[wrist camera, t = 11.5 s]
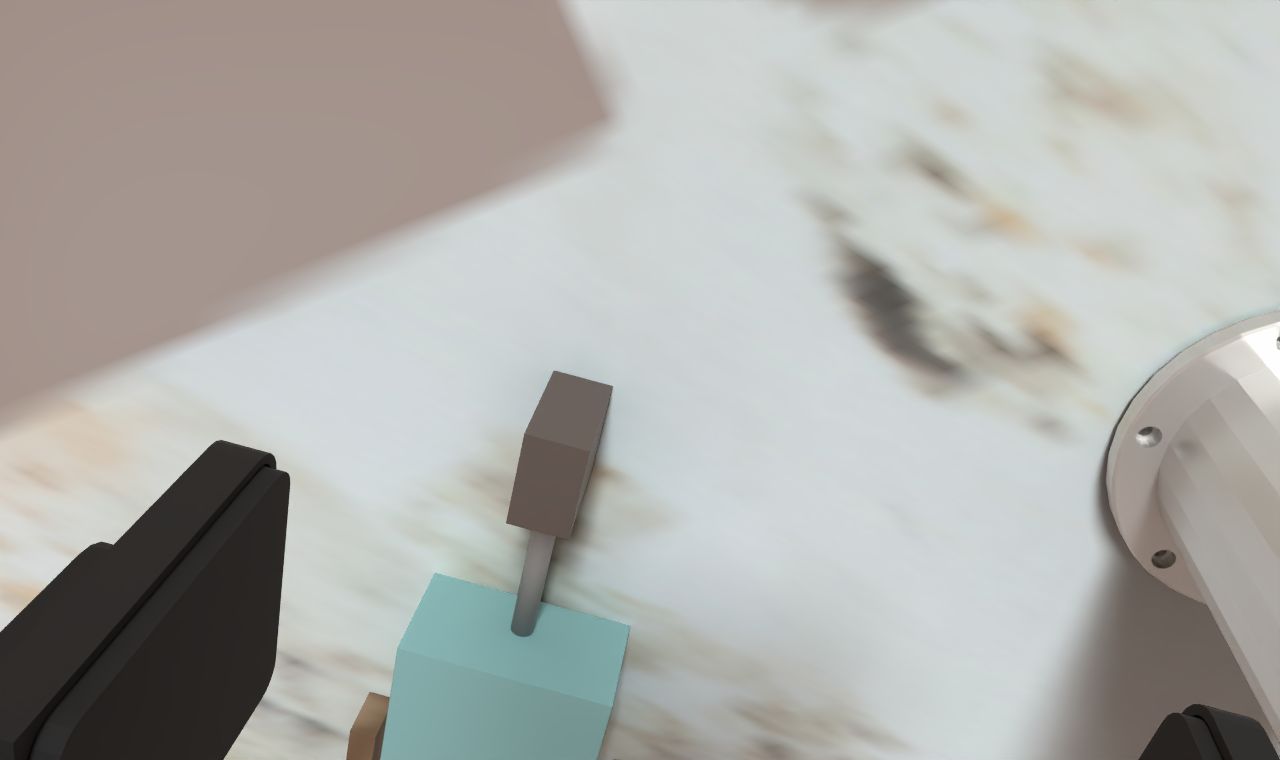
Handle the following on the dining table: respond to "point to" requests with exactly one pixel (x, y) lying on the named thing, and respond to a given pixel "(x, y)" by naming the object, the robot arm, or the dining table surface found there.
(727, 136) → the dining table surface
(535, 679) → the teal block
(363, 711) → the frame
